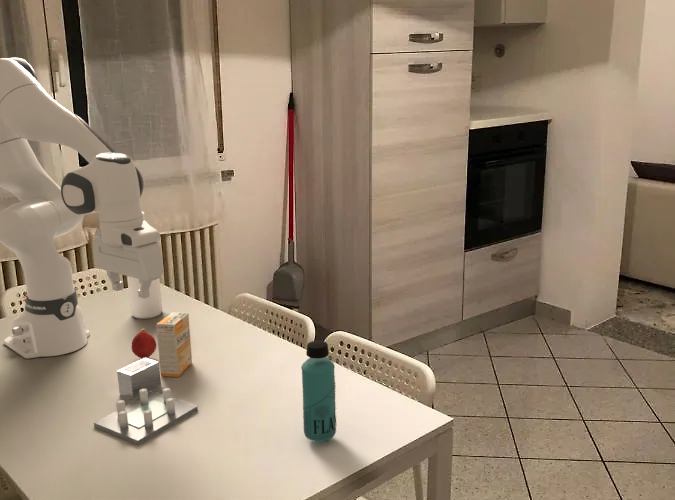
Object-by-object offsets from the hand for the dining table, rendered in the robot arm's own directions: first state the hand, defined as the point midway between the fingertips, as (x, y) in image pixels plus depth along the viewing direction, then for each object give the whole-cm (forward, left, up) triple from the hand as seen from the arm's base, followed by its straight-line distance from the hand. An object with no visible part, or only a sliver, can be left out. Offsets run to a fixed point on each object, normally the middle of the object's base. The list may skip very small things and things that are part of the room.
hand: (130, 293), depth 151 cm
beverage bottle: (+46, +4, -23) cm, 52 cm away
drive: (0, 0, -23) cm, 23 cm away
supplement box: (-1, +12, -23) cm, 26 cm away
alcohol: (-36, +34, -23) cm, 54 cm away
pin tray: (+11, -8, -23) cm, 27 cm away
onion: (-12, +12, -23) cm, 28 cm away
